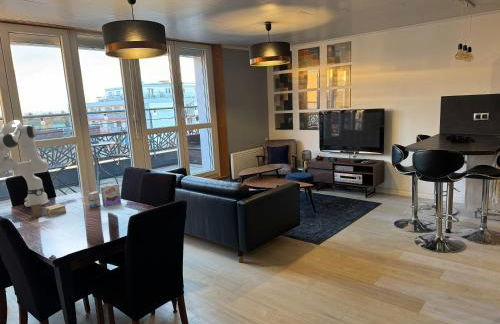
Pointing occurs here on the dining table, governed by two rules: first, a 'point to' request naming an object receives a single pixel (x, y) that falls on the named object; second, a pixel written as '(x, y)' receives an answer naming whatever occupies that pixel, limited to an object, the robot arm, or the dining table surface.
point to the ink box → (94, 199)
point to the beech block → (55, 210)
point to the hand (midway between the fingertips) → (11, 175)
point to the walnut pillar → (36, 210)
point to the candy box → (110, 195)
